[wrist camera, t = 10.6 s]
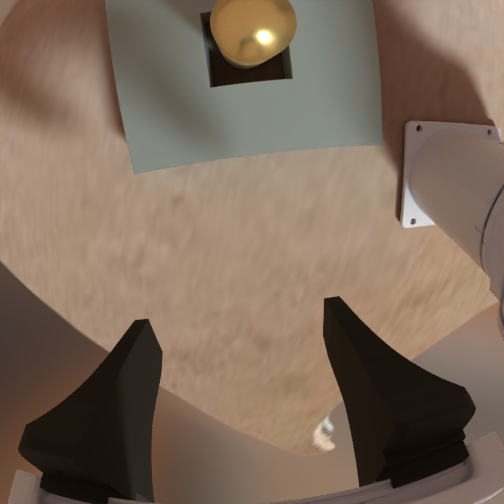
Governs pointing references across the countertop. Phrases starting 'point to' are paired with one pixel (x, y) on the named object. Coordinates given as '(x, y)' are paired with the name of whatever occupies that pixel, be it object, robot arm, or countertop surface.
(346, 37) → the hole plate
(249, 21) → the long pin
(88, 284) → the countertop surface
